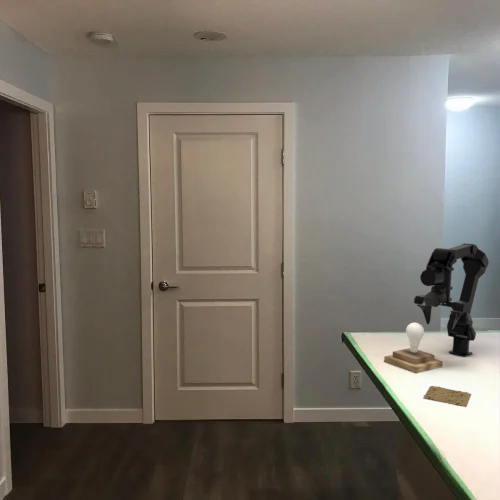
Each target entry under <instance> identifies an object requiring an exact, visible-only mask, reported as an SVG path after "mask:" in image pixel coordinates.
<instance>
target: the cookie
mask: <svg viewBox="0 0 500 500" xmlns="http://www.w3.org/2000/svg"><path fill="white" fill-rule="evenodd" d="M471 397H472V393H471V392H470V393H469V392H468V391H461V390H457V389H456V390H454V389H449V388H445V387H442V386H438V385H437V386H435V385H431V386H429V388H428V389H427V391H426V393H425V394H424V395H423V398H422V399H424V400H429V401H432V402H439V403H442V404H443V403H444V404H448V405H453V406H459V407H463V408H467V406H468V404H469V401H470V400H471Z"/></svg>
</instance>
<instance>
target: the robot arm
mask: <svg viewBox="0 0 500 500" xmlns="http://www.w3.org/2000/svg"><path fill="white" fill-rule="evenodd" d="M459 259H460V260H461V261H462V263H463V264H462V265H463V266H462V268H463V271H464V273H465V276H464V280H463V285H462V288H461V293H460V295H459V300H456V301H453V300H452V299H453V297H451V290H453V286H452V272H453V271H454V270H455V268H454V267H453V265H455V264H456V263H457V262H458V260H459ZM489 263H490V262H489V258H488V257H487V254H486V253H485V251H482V250H480V249H479V248H478V246H477V245H476V244H474V243H461V244H460V245H455V246H454V247H453V246H452V247H450V248H449V247H448V248H445V247H443V248H441V247H440V248H439V247H436V248H434V249H433V251H432V253H431V255H430V257H429V259H428V262H427V264H426V268H425V270H423V271H421V274H420V282H421V283H422V285H424V286H426V287H431V289H430V291H429V292H427V294H420V295H418V294H417V295H415V296H414V299H413V304H414V305H415V304H416V307H419V308H420V309H421V311H422V314H423V316H424V320H425V322H426V325H430V322H431V318H432V317H431V316H432V307H433V308H437V307H439V306H441V307H442V306H443V307H447V308H448V307H449V308H451V309H452V310H450V314H449V316H448V317H449V318H448V321H447V324H446V330H447V336H448V337H452V338H453V339H452V350H449V351H448V353H449V354H453V355H457V356H460V357H461V356H462V357H467V356H471V355H472V354H473V352H472V351H470V341H475V339H476V336H477V333H476V331H475V329H474V327H473V325H474V321H473V319H472V316H471V312H472V308H473V303H474V299H475V294H476V291H477V287H478V283H479V279H480V278H481V277H482V276H483V275H484V274H485V273H486V271H487V268H488V266H489Z"/></svg>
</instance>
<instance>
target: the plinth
mask: <svg viewBox="0 0 500 500" xmlns="http://www.w3.org/2000/svg"><path fill="white" fill-rule="evenodd" d="M383 357H384V358H383V363H386V364H388V365H389V364H390V365H391V366H395V367H397V368H399V369H403V370H405V371H408V372H412V373H414V374H419V373H424V372H425V371H426V372H427V371H431V370H434V369H439V368H442V367H443V360H441V359H436V358H435V354H432V353H429V352H426V351H423V350H420V349H418V352H416V353H412V352H411V351H410V347H409V348H404V349H399V350H394V351H392V354H391V355H390V354H389V355H385V356H383Z"/></svg>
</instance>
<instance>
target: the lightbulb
mask: <svg viewBox="0 0 500 500" xmlns="http://www.w3.org/2000/svg"><path fill="white" fill-rule="evenodd" d="M405 334H406V336H407V338H408V340H409V341H408V342H409V348H410V351H411V352H412V353H416V352H418V350H419V346H420V342H421V340H422V339H423V337H424V335H425V329H424V326H423V325H422V324H420V323H418V322H411V323H409V324H408V325H407V326H406V329H405Z"/></svg>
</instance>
